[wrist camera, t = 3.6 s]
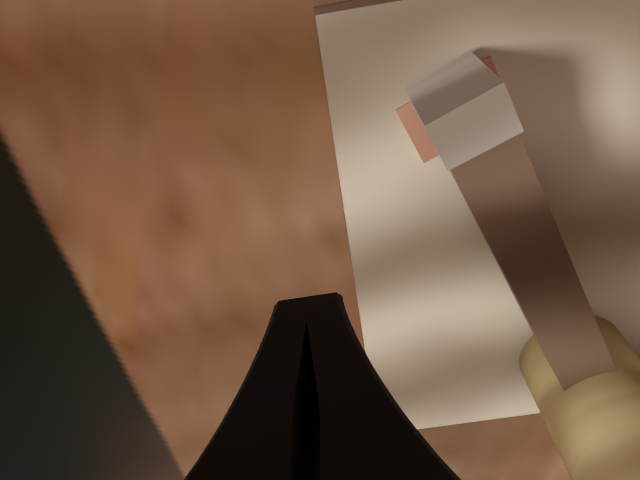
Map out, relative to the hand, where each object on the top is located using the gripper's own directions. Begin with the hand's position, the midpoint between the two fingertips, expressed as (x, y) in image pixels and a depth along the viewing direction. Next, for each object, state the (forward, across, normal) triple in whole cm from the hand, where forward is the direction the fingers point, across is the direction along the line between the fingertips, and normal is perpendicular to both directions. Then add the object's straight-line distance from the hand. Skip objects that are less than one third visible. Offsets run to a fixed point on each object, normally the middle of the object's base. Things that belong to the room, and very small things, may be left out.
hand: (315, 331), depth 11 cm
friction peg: (+6, -7, +4) cm, 10 cm away
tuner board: (+8, -9, +4) cm, 13 cm away
